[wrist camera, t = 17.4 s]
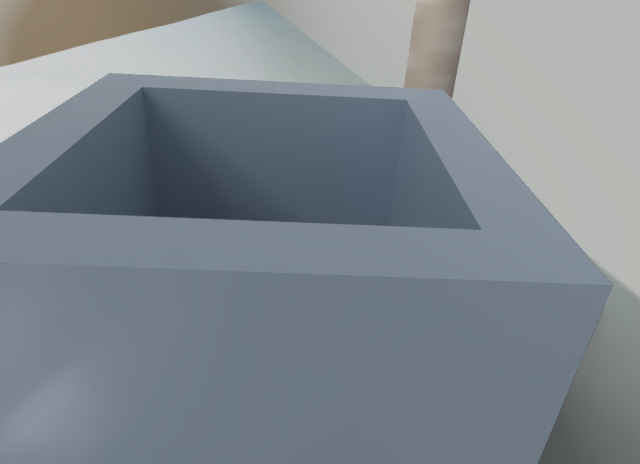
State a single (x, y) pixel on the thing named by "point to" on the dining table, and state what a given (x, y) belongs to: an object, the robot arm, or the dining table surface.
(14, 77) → the dining table surface
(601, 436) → the dining table surface
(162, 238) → the sleeve
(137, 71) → the dining table surface
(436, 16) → the post stand
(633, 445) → the dining table surface
